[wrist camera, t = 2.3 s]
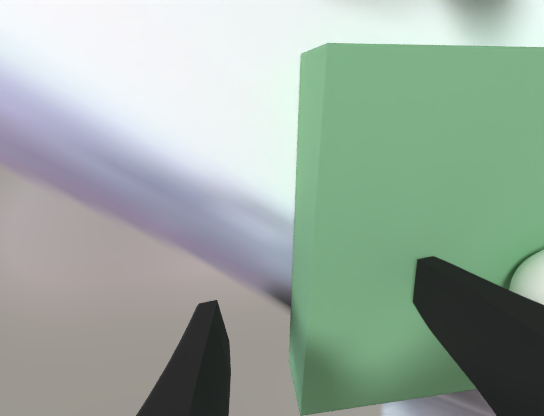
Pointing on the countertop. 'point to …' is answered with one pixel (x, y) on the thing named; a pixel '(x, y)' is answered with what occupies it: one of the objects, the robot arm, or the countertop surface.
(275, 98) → the countertop surface
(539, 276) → the ball
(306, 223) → the mat
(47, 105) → the countertop surface
